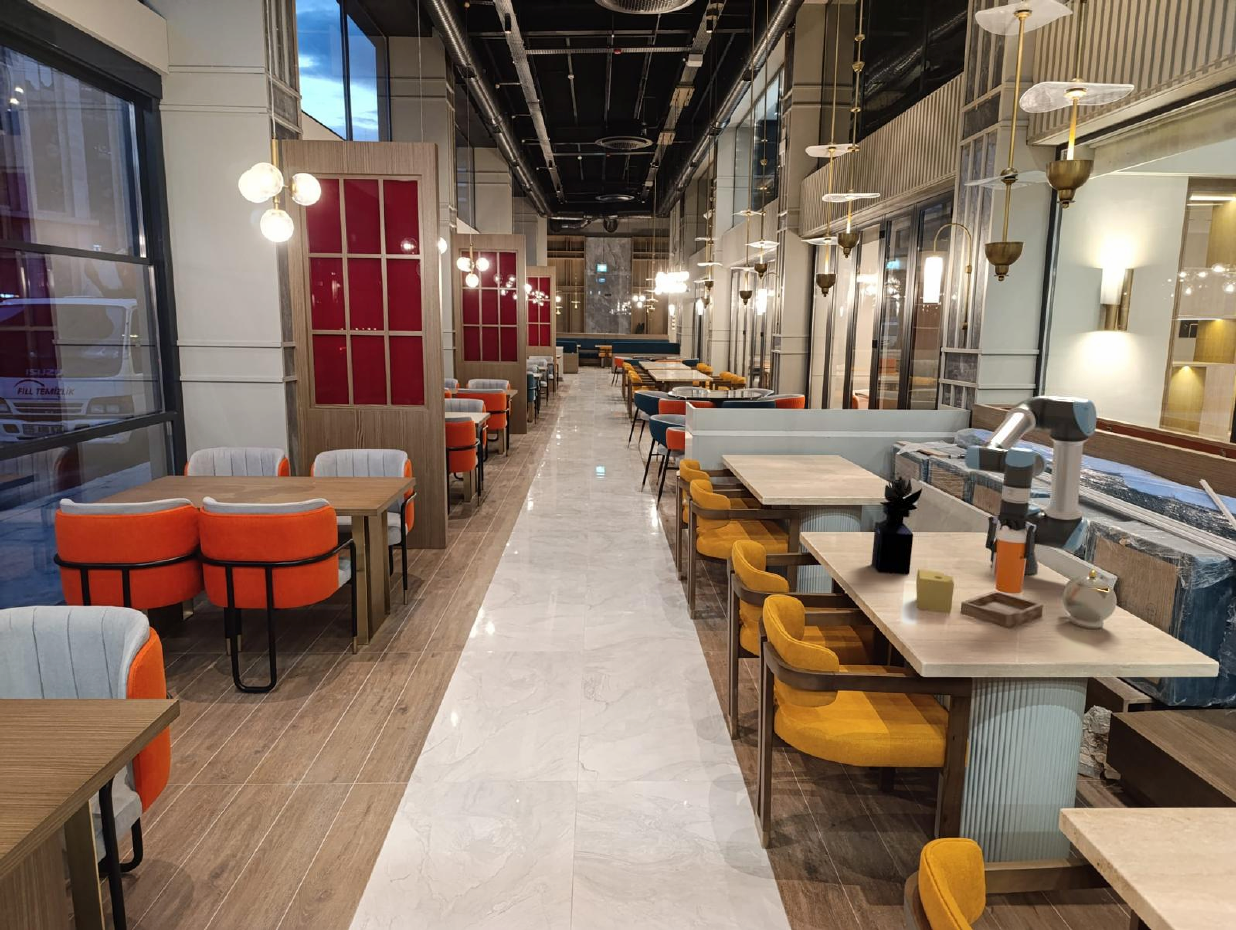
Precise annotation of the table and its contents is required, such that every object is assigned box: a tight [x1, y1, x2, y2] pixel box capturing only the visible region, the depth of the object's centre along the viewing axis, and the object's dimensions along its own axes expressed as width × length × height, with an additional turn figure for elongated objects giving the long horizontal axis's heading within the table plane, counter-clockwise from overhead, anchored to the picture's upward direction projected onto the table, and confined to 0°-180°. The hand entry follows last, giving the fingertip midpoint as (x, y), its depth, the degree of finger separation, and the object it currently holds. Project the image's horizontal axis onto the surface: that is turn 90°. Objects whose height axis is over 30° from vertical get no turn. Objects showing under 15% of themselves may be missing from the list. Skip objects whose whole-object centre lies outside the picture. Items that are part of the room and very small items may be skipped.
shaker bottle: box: [995, 524, 1027, 595], centre depth 237 cm, size 9×9×20 cm
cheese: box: [915, 568, 955, 614], centre depth 246 cm, size 10×11×10 cm
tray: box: [959, 590, 1044, 630], centre depth 241 cm, size 20×15×4 cm
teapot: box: [1062, 570, 1118, 630], centre depth 236 cm, size 18×14×16 cm
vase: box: [871, 472, 923, 575], centre depth 282 cm, size 14×12×35 cm
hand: (1005, 575), depth 239 cm, fingers open, 6 cm apart
